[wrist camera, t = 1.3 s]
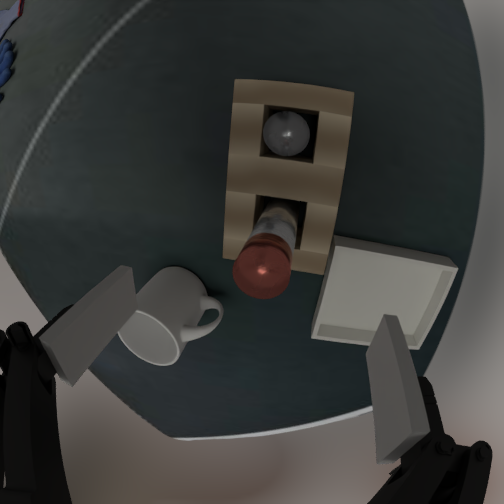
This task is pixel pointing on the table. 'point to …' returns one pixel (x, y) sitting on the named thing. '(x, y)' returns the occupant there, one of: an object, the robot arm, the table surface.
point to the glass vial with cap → (268, 251)
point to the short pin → (286, 133)
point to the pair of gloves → (3, 55)
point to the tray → (379, 291)
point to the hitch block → (286, 166)
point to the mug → (168, 316)
